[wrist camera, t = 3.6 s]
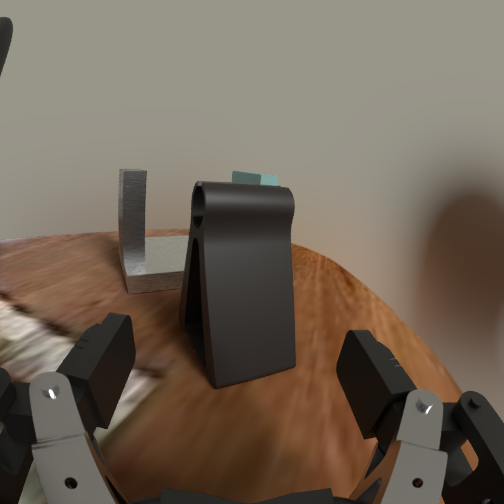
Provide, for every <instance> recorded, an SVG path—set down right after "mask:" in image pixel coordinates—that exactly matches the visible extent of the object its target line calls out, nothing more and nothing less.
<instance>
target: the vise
mask: <svg viewBox="0 0 504 504" xmlns="http://www.w3.org/2000/svg"><path fill="white" fill-rule="evenodd" d="M146 177H147V171H144V170H140V169H120V171H119V199H118V202H119V203H118V218H119V219H118V226H119V239H118V251H119V257H120V261H121V266H122V270H123V274H124V278H125V282H126V286H127V290H128V294H134V293H143V292H153V291H162V290H170V289H179V288H182V283H183V275H184V267H185V260H186V253H187V246H188V239H189V235H186V236H167V237H150V238H145V198H146Z"/></svg>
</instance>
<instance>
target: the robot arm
mask: <svg viewBox="0 0 504 504" xmlns="http://www.w3.org/2000/svg"><path fill="white" fill-rule="evenodd" d="M12 33H13V24H12V21H11V20H10V18H7V17H0V75H1V72H2V69H3V66H4V63H5V60H6V57H7V53H8V51H9V47H10V43H11V38H12ZM135 355H136V350H135V343H134V336H133V329H132V321H131V317H130V316H129V315H123V314H117V313H109V314H108V315H107V317H106V318H105V319H104V321H103V322H102V323H101V324H97V323H96V324H95V325H93V326H92V327H90V328H88V329H87V330H86V331H85V332H84V333H83V335H82V336H81V337H80V340H78V341H77V343H76V344H75V345H74V347H73V348H72V349H71V351H70V352H69V354H68V355H67V356H66V358H65V359H64V360H63V362H62V363H61V365H60V366H59V368H58V369H57V370H56V372H46V373H42V374H40V375H38V376H37V377H35V378H34V379H33V380H32V382H31V383H22V382H12V380H11V378H10V376H9V374H8V372H7V371H6V370H5V369H3V368H1V367H0V424H1V426H2V427H3V430H2V432H1V434H0V504H18V502H19V499H20V496H21V493H22V490H23V487H24V484H25V481H26V478H27V475H28V472H29V470H30V467H31V464H32V462H33V459H34V462H35V466H36V469H37V473H38V476H39V480H40V483H41V486H42V489H43V492H44V495H45V498H46V501H47V504H246V503H241V502H236V501H231V500H227V499H223V498H219V497H215V496H212V495H208V494H205V493H195V492H187V491H179V490H172V489H166V488H162V491H161V496H156V497H147V498H142V499H137V500H134V501H131V502H128V500H127V499H126V497H125V495H124V494H123V492H122V491H121V489H120V487H119V486H118V484H117V483H116V481H115V479H114V477H113V475H112V473H111V471H110V469H109V467H108V465H107V463H106V461H105V459H104V457H103V455H102V453H101V450H100V448H99V446H98V444H97V441H96V439H95V437H94V435H93V433H94V431H95V428H96V426H97V427H100V428H104V429H108V427H109V424H110V422H111V419H112V416H113V414H114V411H115V409H116V406H117V404H118V401H119V399H120V396H121V394H122V391H123V389H124V387H125V384H126V382H127V380H128V377H129V375H130V373H131V370H132V368H133V366H134V362H135ZM336 371H337V377H338V379H339V381H340V384H341V386H342V388H343V391H344V393H345V395H346V398H347V400H348V402H349V405H350V407H351V409H352V412H353V414H354V416H355V419H356V421H357V423H358V426H359V428H360V431H361V433H362V435H363V438H364V439H369V438H374V437H376V438H377V440H378V442H377V443H376V445H375V446H374V449H373V451H372V454H371V456H370V459H369V461H368V463H367V466H366V468H365V470H364V473H363V475H362V477H361V479H360V481H359V483H358V485H357V487H356V488H355V490H354V491H353V492H352V494H351V495H350V496H349V498H342V497H333V495H332V491H331V488H328V489H321V490H314V491H307V492H298V493H291V494H287V495H284V496H280V497H277V498H273V499H269V500H265V501H261V502H257V503H252V504H439V501H440V497H441V495H442V498H443V500H444V503H445V504H504V423H503V422H502V420H501V419H500V417H499V416H498V414H497V413H496V412H495V410H494V409H493V408H492V406H491V405H490V403H489V402H488V401H487V399H486V398H485V397H484V396H482V395H481V394H479V393H477V392H474V391H467V392H465V393H463V394H462V395H461V397H460V399H459V400H458V402H457V403H444V402H442V401H441V400H440V398H439V397H438V396H437V395H436V394H434V393H433V392H431V391H428V390H424V389H417V388H416V386H415V385H414V383H413V382H412V380H411V379H410V378H409V376H408V375H407V373H406V372H405V371H404V369H403V368H402V366H400V363H399V362H398V361H397V359H395V357H394V355H393V354H392V352H391V351H390V350H389V349H388V348H387V347H386V346H384V345H383V344H382V343H380V342H377V341H376V339H375V338H374V337H373V335H372V334H371V332H370V331H369V330H349V331H348V332H347V334H346V337H345V340H344V343H343V346H342V349H341V352H340V355H339V358H338V361H337V367H336ZM467 439H468V440H469V442H470V444H471V445H472V447H473V449H474V451H475V452H476V454H477V456H478V460H479V462H478V466H477V468H476V469H475V470H474V471H472V469H471V467H470V465H469V463H468V461H467V459H466V457H465V455H464V453H463V452H462V450H461V448H460V447H461V446H462V445H463V444H464V443H465V442H466V441H467Z"/></svg>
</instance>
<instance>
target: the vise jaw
mask: <svg viewBox="0 0 504 504" xmlns="http://www.w3.org/2000/svg"><path fill="white" fill-rule="evenodd" d="M277 180H278V177H277V176H273V175H266V174H258V173H251V172H241V171H233V174H232V183H246V184H261V185H274V186H277Z"/></svg>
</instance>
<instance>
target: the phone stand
mask: <svg viewBox="0 0 504 504" xmlns="http://www.w3.org/2000/svg"><path fill="white" fill-rule="evenodd" d="M294 209H295V206H294V198H293V195H292V192H291V191H290V189H289V188H285V187H280V186H274V185H261V184H246V183H230V182H207V181H197V182H196V184H195V186H194V189H193V194H192V203H191V224H190V232H189V239H188V246H187V253H186V260H185V267H184V275H183V283H182V291H181V300H180V309H179V321H180V323H181V325H182V327H183V329H184V331H185V333H186V335H187V337H188V339H189V341H190V343H191V345H192V347H193V349H194V350H195V353H196V355H197V357H198V359H199V361H200V363H201V365H202V366H203V368H204V370H205V372H206V374H207V376H208V377H209V379H210V381H211V383H212V385H213V386H214V388H215V389H218V388H223V387H227V386H231V385H235V384H239V383H243V382H247V381H250V380H254V379H258V378H261V377H265V376H268V375H271V374H275V373H278V372H281V371H284V370H288V369H291V368H294V367H295V366H296V354H295V318H294V293H293V272H292V254H291V224H292V220H293V216H294Z"/></svg>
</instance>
